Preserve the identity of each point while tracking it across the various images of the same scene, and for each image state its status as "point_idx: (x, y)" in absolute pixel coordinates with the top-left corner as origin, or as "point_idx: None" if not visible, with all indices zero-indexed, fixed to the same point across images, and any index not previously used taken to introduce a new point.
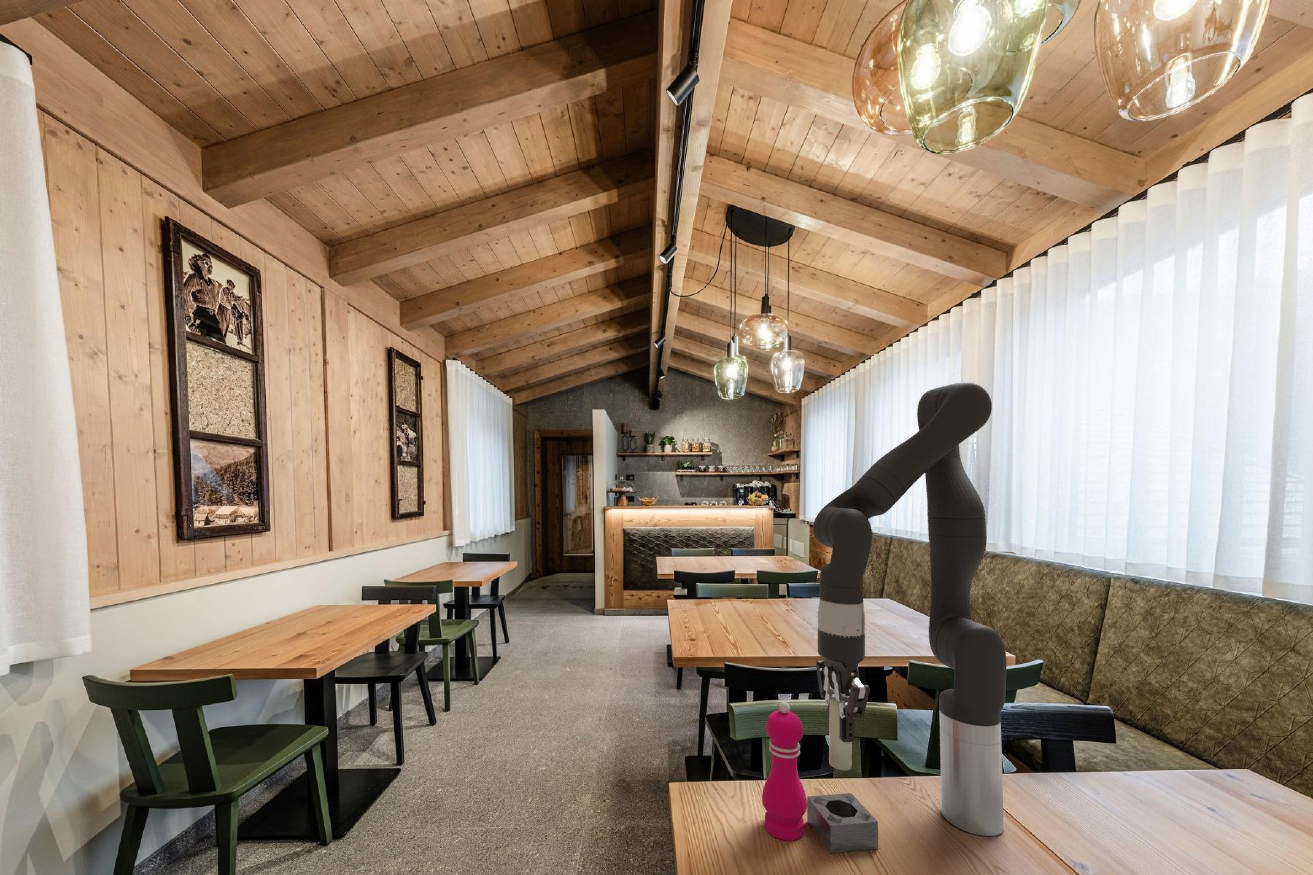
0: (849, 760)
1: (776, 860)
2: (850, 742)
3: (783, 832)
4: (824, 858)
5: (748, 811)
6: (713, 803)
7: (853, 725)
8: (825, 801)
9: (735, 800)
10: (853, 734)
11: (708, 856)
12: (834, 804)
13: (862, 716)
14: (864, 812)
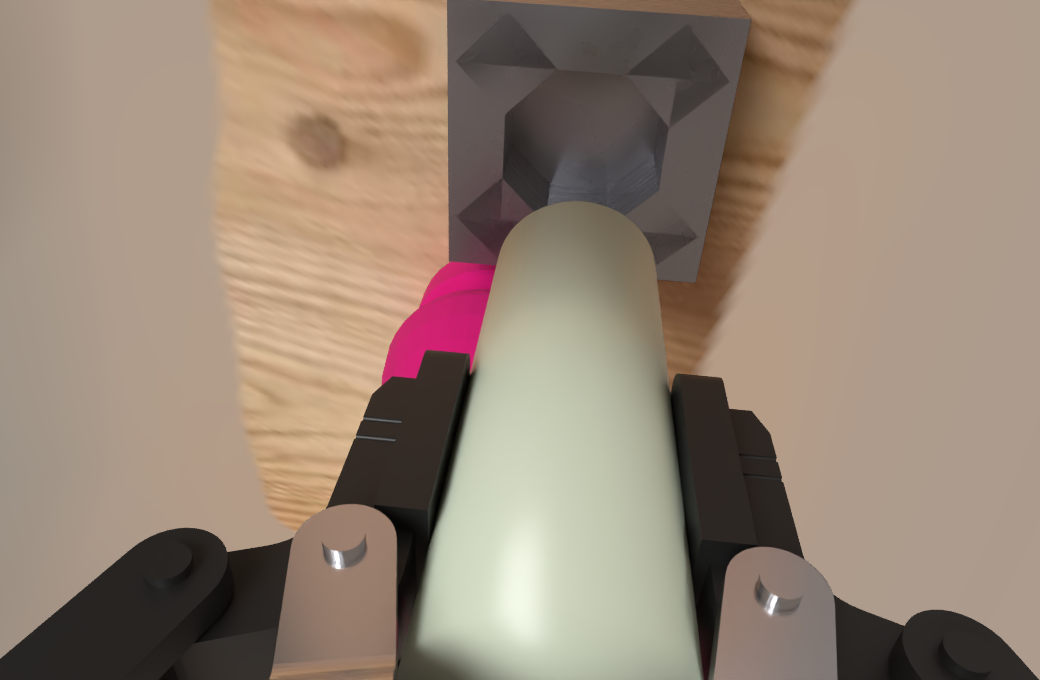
0: (655, 283)
1: None
2: (659, 351)
3: None
4: (702, 263)
5: (375, 385)
6: (319, 466)
7: (786, 526)
8: (507, 199)
9: (301, 399)
10: (773, 459)
11: None
12: (505, 137)
13: (1006, 661)
14: (650, 44)
